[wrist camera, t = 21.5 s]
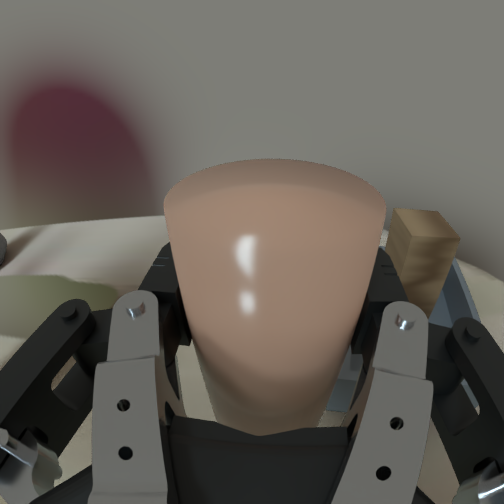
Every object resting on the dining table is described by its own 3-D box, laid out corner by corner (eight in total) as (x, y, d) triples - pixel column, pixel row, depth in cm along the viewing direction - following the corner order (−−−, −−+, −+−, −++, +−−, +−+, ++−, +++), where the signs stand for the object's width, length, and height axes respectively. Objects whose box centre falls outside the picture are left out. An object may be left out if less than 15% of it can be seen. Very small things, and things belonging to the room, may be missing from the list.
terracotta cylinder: (198, 435, 11) (117, 231, 5) (233, 351, 15) (214, 155, 9) (312, 461, 10) (403, 272, 4) (329, 369, 14) (374, 169, 8)
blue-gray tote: (325, 409, 21) (337, 378, 18) (340, 277, 35) (346, 241, 32) (468, 414, 17) (498, 383, 14) (441, 289, 31) (454, 256, 28)
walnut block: (384, 324, 26) (411, 235, 21) (374, 291, 30) (393, 207, 25) (426, 322, 26) (460, 238, 20) (413, 290, 30) (437, 211, 24)
